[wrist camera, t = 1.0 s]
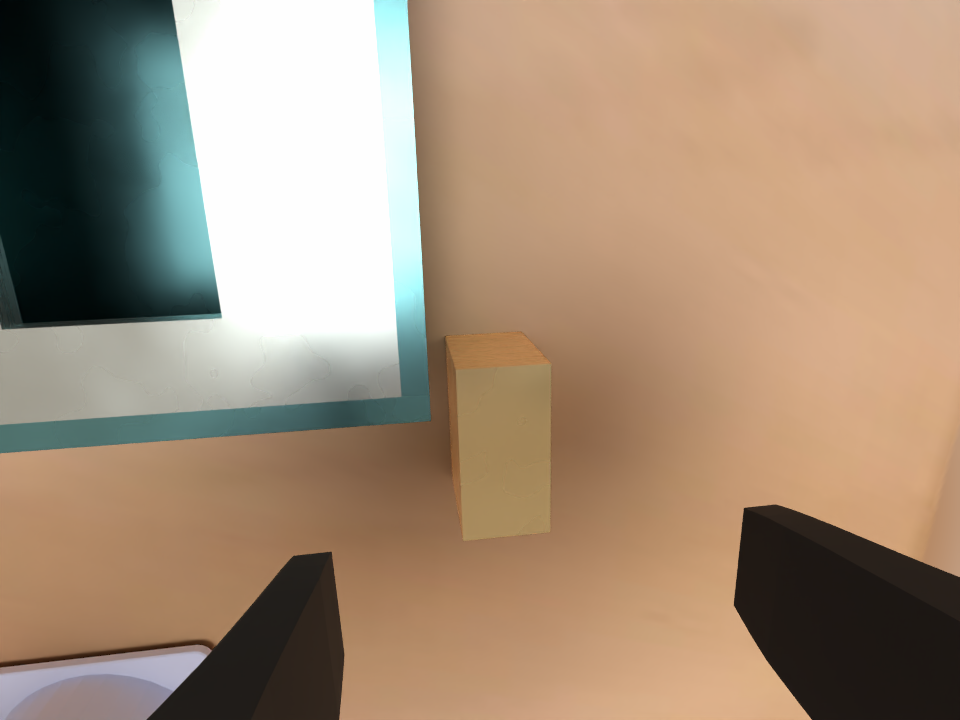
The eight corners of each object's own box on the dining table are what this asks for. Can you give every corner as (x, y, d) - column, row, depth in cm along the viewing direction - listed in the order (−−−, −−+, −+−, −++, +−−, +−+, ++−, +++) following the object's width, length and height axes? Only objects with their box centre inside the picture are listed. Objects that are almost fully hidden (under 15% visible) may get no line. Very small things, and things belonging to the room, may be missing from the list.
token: (522, 468, 19) (550, 532, 16) (451, 474, 19) (463, 541, 15) (520, 331, 18) (551, 363, 14) (445, 335, 18) (455, 369, 14)
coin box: (422, 352, 18) (431, 421, 12) (19, 376, 16) (-191, 467, 11) (397, -85, 14) (391, -278, 9) (-108, -101, 13) (-508, -344, 7)
